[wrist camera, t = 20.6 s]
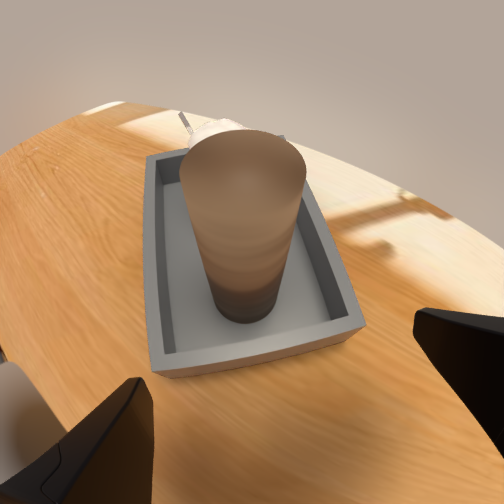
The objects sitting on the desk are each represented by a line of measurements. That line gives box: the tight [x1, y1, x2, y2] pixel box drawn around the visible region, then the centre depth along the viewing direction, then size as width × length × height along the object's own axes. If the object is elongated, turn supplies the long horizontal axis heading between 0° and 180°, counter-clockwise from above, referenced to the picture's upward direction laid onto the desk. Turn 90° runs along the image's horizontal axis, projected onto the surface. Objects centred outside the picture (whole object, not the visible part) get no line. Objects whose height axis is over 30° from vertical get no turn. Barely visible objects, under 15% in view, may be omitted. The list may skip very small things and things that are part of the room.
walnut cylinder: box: [179, 130, 306, 324], centre depth 16 cm, size 5×5×13 cm
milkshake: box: [178, 112, 246, 149], centre depth 22 cm, size 5×5×10 cm
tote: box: [143, 135, 366, 379], centre depth 23 cm, size 20×14×4 cm
